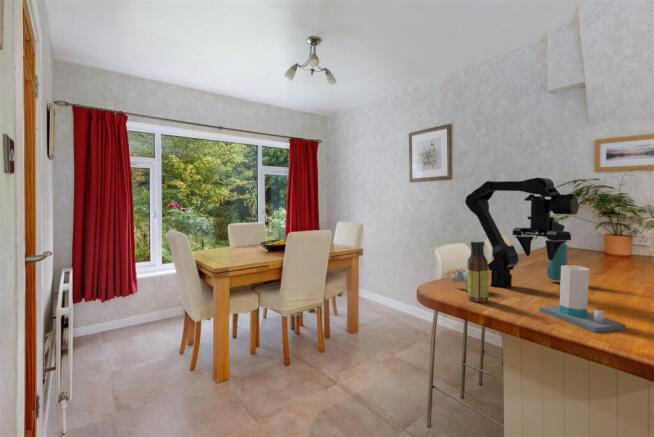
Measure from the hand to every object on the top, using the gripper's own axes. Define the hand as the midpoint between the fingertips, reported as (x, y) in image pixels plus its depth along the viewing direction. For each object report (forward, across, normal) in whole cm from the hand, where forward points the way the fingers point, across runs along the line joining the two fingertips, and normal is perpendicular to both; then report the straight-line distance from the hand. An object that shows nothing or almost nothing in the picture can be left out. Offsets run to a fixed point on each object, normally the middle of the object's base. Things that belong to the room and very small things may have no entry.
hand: (538, 257), depth 111 cm
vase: (+12, -20, +9) cm, 25 cm away
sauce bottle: (+13, -2, +26) cm, 29 cm away
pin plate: (+13, -22, +9) cm, 28 cm away
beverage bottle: (+13, +12, -21) cm, 28 cm away
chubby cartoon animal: (+13, +11, +21) cm, 27 cm away
